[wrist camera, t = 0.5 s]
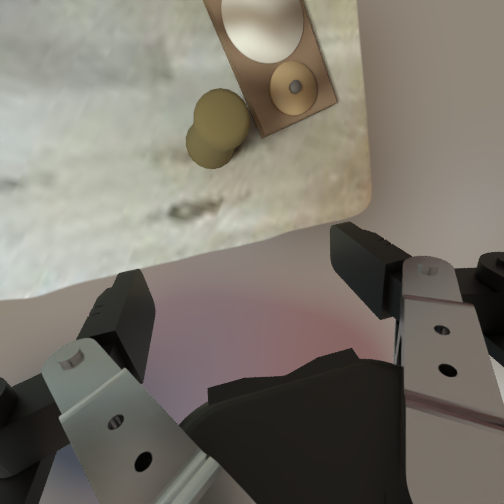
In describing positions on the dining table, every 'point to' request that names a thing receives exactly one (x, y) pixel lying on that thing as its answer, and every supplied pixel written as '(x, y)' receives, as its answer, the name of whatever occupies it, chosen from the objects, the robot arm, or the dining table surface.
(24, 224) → the dining table surface
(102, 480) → the robot arm
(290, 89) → the board
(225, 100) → the cork
